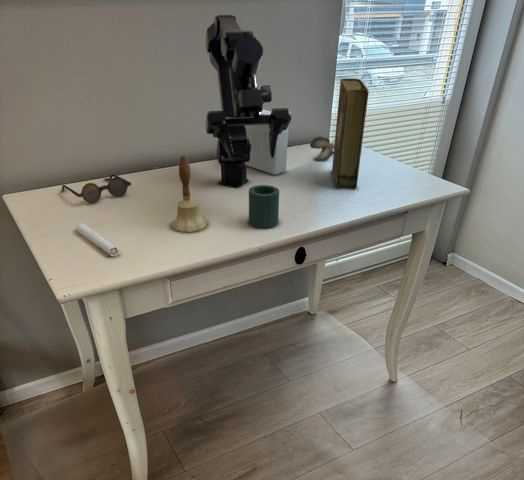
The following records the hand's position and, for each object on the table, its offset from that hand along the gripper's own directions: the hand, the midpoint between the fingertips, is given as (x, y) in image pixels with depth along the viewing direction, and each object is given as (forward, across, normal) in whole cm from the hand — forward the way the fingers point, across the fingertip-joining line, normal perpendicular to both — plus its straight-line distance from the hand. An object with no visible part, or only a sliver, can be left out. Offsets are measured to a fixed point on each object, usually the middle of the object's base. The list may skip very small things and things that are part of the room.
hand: (252, 159), depth 111 cm
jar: (+13, +2, +8) cm, 15 cm away
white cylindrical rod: (+15, -37, +6) cm, 40 cm away
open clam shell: (-16, +33, +46) cm, 59 cm away
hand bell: (+12, -15, +10) cm, 21 cm away
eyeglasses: (-5, -38, +31) cm, 49 cm away
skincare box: (-13, +10, +42) cm, 45 cm away
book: (-3, +32, +28) cm, 43 cm away
